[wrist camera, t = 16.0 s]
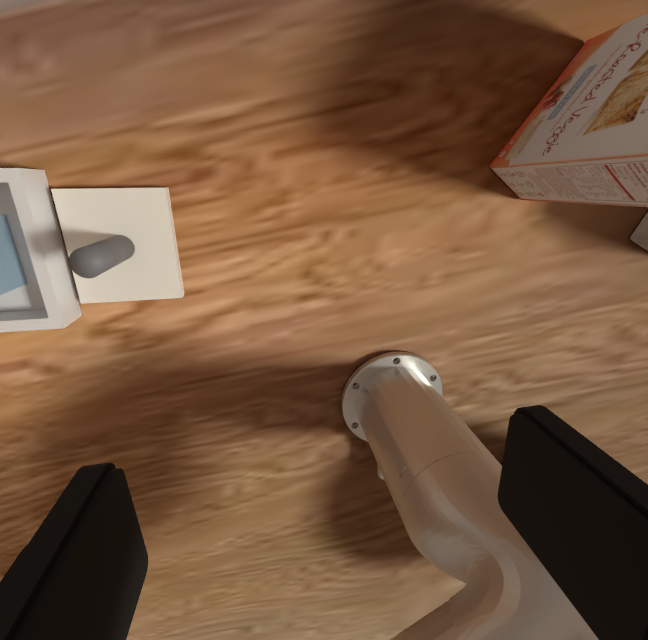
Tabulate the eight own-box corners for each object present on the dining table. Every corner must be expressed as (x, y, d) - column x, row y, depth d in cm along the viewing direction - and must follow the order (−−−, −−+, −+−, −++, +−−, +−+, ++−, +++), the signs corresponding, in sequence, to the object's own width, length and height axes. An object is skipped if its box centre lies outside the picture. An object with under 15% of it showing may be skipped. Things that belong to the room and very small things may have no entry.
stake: (184, 294, 36) (164, 324, 28) (86, 299, 34) (36, 332, 27) (168, 187, 32) (139, 187, 25) (58, 188, 31) (-9, 189, 23)
